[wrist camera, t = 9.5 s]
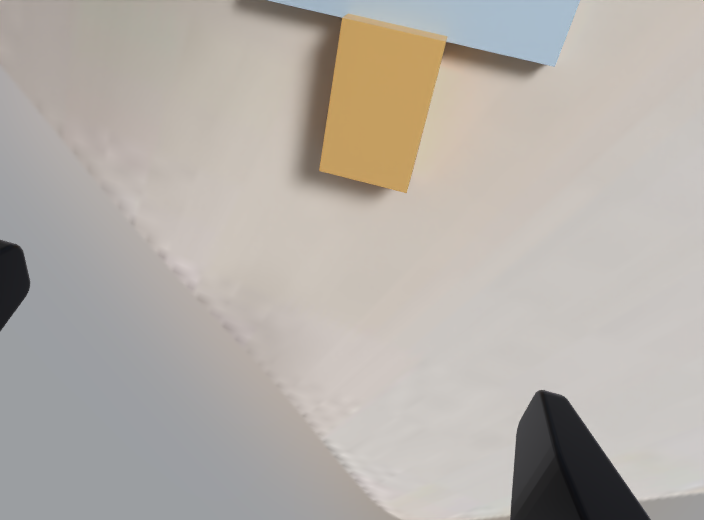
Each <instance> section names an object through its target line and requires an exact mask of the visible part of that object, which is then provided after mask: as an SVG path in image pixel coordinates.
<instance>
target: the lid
mask: <svg viewBox="0 0 704 520" xmlns="http://www.w3.org/2000/svg"><path fill="white" fill-rule="evenodd" d="M268 1H272V2H276V3H281V4H285V5H289V6H294V7H298V8H302V9H307V10H311V11H315V12H320V13H324V14H328V15H333V16H337V17H341V18H342V22H341V29H340V36H339V42H338V49H337V56H336V62H335V69H334V75H333V82H332V89H331V95H330V102H329V109H328V115H327V122H326V129H325V135H324V142H323V148H322V155H321V162H320V168H319V171H321V172H325V173H329V174H333V175H337V176H341V177H345V178H349V179H353V180H357V181H361V182H365V183H369V184H373V185H377V186H380V187H384V188H388V189H392V190H396V191H400V192H404V193H407V189H408V186H409V182H410V179H411V175H412V171H413V167H414V164H415V160H416V156H417V152H418V148H419V144H420V141H421V137H422V133H423V129H424V125H425V121H426V118H427V114H428V110H429V106H430V102H431V99H432V95H433V91H434V87H435V83H436V79H437V76H438V72H439V68H440V64H441V60H442V56H443V53H444V49H445V45H446V42H450V43H454V44H458V45H463V46H467V47H471V48H476V49H480V50H484V51H489V52H493V53H497V54H502V55H506V56H510V57H515V58H519V59H523V60H528V61H532V62H536V63H541V64H545V65H549V66H554V67H555V65H556V62H557V60H558V57H559V54H560V52H561V49H562V46H563V44H564V41H565V39H566V36H567V33H568V31H569V28H570V26H571V23H572V20H573V18H574V15H575V12H576V10H577V7H578V5H579V2H580V0H268Z"/></svg>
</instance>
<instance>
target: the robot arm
mask: <svg viewBox="0 0 704 520" xmlns="http://www.w3.org/2000/svg"><path fill="white" fill-rule="evenodd" d="M29 288H30V279H29V274H28V270H27V266H26V262H25V257H24V253H23V250H22V249H21V247H20V246H18V245H17V244H13V243H9V242H6V241H3V240H0V331H1V330H2V328H3V327H4V326H5V324H6V323H7V321H8V320H9V319H10V317H11V316H12V314H13V313H14V312H15V311H16V309H17V308H18V306H19V305H20V304H21V302H22V301H23V300H24V298H25V297H26V295H27V293H28V291H29ZM510 520H651V519H650V518H649V516H648V515H647V513H646V512H645V510H644V509H643V508H642V506H641V505H640V503H639V502H638V500H637V499H636V497H635V496H634V495H633V493H632V492H631V490H630V489H629V487H628V486H627V484H626V483H625V482H624V480H623V479H622V477H621V476H620V474H619V473H618V472H617V470H616V469H615V467H614V466H613V464H612V463H611V461H610V460H609V459H608V457H607V456H606V454H605V453H604V451H603V450H602V448H601V447H600V446H599V444H598V443H597V441H596V440H595V438H594V437H593V436H592V434H591V433H590V431H589V430H588V428H587V427H586V425H585V424H584V423H583V421H582V420H581V418H580V417H579V415H578V414H577V412H576V411H575V410H574V408H573V407H572V405H571V404H570V402H569V401H568V400H567V399H566V398H565V397H564V396H562V395H559V394H556V393H552V392H549V391H545V390H539V391H538V392H536V393H535V395H534V396H533V398H532V400H531V402H530V404H529V405H528V407H527V409H526V411H525V413H524V414H523V416H522V418H521V420H520V422H519V425H518V428H517V434H516V447H515V460H514V474H513V487H512V501H511V517H510Z"/></svg>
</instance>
